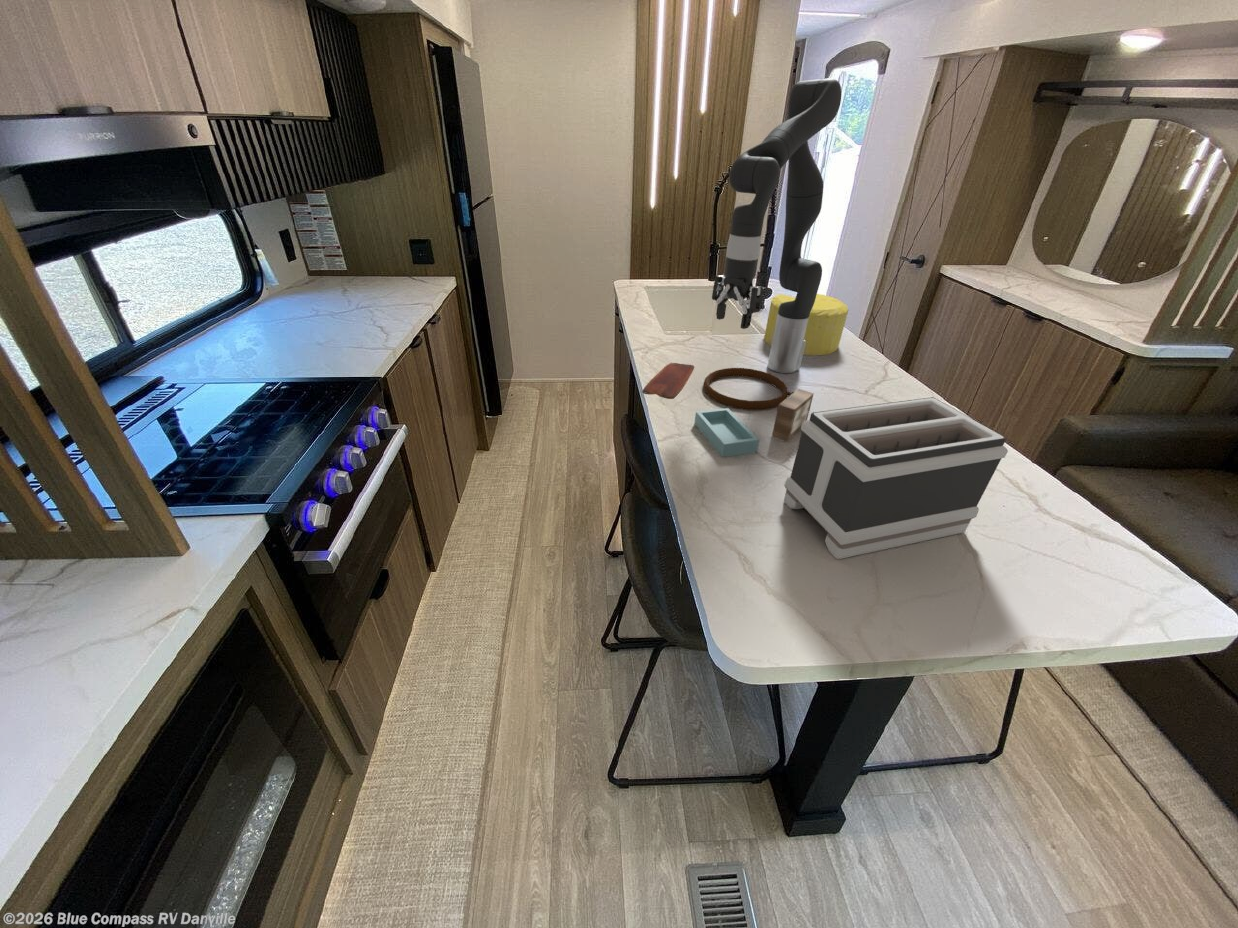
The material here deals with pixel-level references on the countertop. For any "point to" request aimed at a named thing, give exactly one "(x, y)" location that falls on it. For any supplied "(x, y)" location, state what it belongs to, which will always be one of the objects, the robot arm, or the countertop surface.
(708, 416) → the light blue rectangular tray
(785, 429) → the picture frame
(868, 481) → the toaster
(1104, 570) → the countertop surface
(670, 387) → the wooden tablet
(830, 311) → the cheese
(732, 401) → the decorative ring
